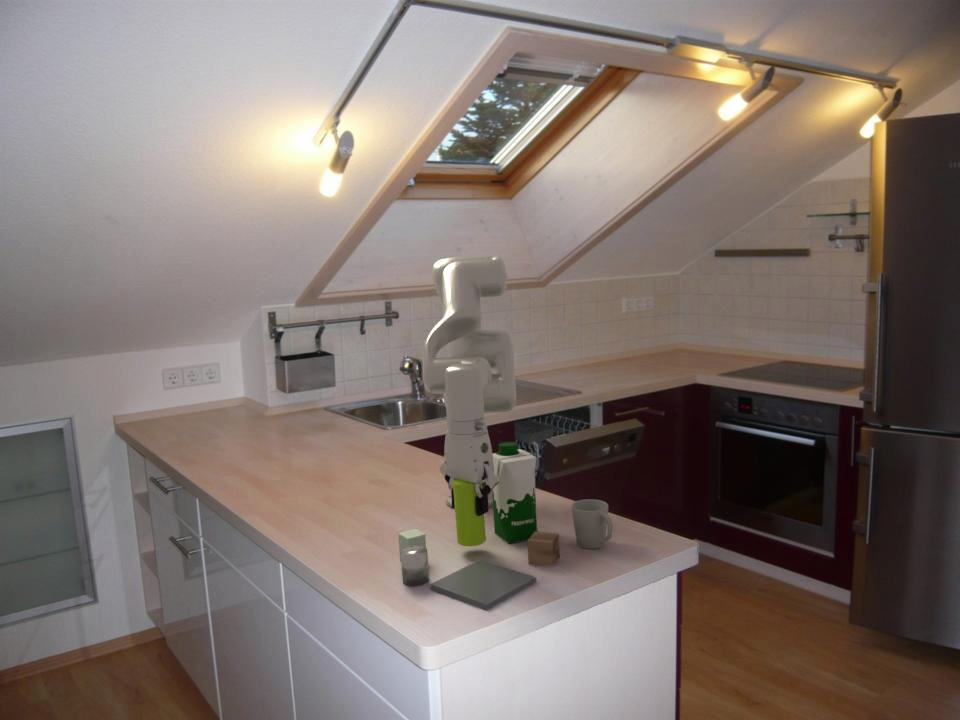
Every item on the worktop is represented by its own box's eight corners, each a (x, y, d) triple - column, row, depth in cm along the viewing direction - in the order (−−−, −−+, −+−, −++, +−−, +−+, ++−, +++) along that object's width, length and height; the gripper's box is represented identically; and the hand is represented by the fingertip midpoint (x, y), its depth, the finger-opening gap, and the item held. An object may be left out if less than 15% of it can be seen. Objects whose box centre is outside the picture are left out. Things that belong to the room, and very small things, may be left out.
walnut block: (536, 554, 163) (535, 531, 162) (559, 557, 161) (558, 533, 160) (528, 564, 159) (527, 540, 158) (552, 567, 157) (551, 542, 156)
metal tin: (416, 573, 157) (414, 544, 156) (434, 579, 153) (432, 549, 152) (397, 582, 153) (395, 552, 152) (415, 588, 150) (413, 558, 149)
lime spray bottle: (485, 531, 169) (478, 440, 166) (486, 545, 162) (479, 450, 159) (457, 534, 169) (450, 443, 165) (457, 547, 162) (449, 452, 159)
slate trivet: (480, 564, 159) (480, 559, 159) (536, 582, 150) (536, 577, 150) (430, 589, 149) (430, 584, 149) (486, 610, 140) (486, 604, 140)
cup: (591, 534, 172) (591, 496, 171) (625, 548, 164) (624, 508, 163) (565, 543, 168) (563, 504, 167) (597, 558, 160) (596, 517, 158)
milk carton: (524, 525, 179) (521, 438, 176) (543, 538, 171) (540, 447, 168) (489, 532, 176) (485, 444, 173) (506, 546, 168) (502, 454, 165)
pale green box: (417, 556, 165) (415, 528, 164) (426, 562, 162) (425, 534, 161) (400, 561, 163) (398, 533, 162) (409, 567, 159) (407, 539, 159)
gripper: (510, 427, 158) (514, 513, 161) (448, 415, 169) (452, 496, 173) (485, 436, 153) (489, 525, 156) (422, 423, 164) (427, 506, 167)
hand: (470, 509), depth 164 cm, fingers closed on lime spray bottle, 5 cm apart
